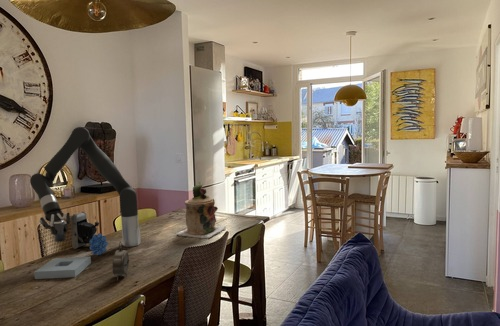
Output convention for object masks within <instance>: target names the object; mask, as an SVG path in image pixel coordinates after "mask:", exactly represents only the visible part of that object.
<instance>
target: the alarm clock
mask: <svg viewBox="0 0 500 326" xmlns="http://www.w3.org/2000/svg"><path fill="white" fill-rule="evenodd" d="M118 245H119V246H118V247H119V249H118V250H117V249H116V251H115V252H114V254H113V260H112V273H113V275H114V276H115V277H116V282H118V281H119V277H123V276H126V277H128V275H127V272H128V269H129V262H130V259H129V258H130V257H129V252H128V251H127V250H124V249H123V250H122V246H123V244H122V241H119V242H118Z"/></svg>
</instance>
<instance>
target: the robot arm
mask: <svg viewBox="0 0 500 326" xmlns="http://www.w3.org/2000/svg"><path fill="white" fill-rule="evenodd" d="M78 148H80V149H81V150H82V151H83V153H85V155H86V156H87V157H88V159H89V161H90V163H92V166H93V167H94V168H95V170H97V172H98V173H99V174H100V176H101V177H102V178H103V179H105V180H106V181H107V182H108V183H109V184H110V185H112V187H113V188H114V189H115V190H116V192H117V193H118V195H119V209H120V216H121V217H120V220H121V235H122V246H123V247H127V248H128V247H136V246H139V245H140V244H141V243H142V242H141V241H142V240H141V227H140V226H139V213H138V212H139V211H138V198H137V197H138V195H137V191H136V190H135V188H133V186H132V185H130V184H129V183H128V181H127V180H126V179H125V178H124V177H123V175H122V173H121V172H120V170H119V169H118V167H117V166H116V164H115V163H114V162H113V161H112V159H111V158H110V157H109V156H108V155H107V154H106V153H105V152H104V151H103V150H102V149H101V148H100V147H98V145H97V144H96V142H95V141H94V139H93V138H92V136H91V135H90V131H89V130H88V129H87V128H86V127H83V126H77V127H75V128H74V129H73V130H72V131H71V134H70V136H69V137H68V139H67V141H65V143H64V144H63V146H62V147H61V148H60V149H59V150H58V151H57V152H56V153H55V154H54V156H53V157H52V158H51V159H50V160H49V161H48V162H47V163H46V164H45V166H44V171H45V172H46V173H45V175H44V174H42V173H39V172H38V173H37V172H36V173H34V174H32V175H31V176H30V179H29V183H30V185H31V187H32V190H34V192H35V193H36V194H37V196H38V200H39V202H40V207H41V209H42V211H43V214H44V217H43V216H42V217H40V219H39V223H40V224H41V225H42V227H43V228H44V229H45V230H48V229H49V230H50V233H51V235H53V236H54V235H56V231H55V228H54V227H53V221H54V220H59V219H64V227H65V234H66V233H68V231H69V225H70V223H71V216H70V212H67V213H64V212H62V209H61V206H60V204H59V201H58V199H57V197H56V196H55V193H54V191H53V189H52V188H51V186H52V185H53V183H54V182H55V179H56V177H57V175H58V173H60V171H61V170H62V168H63V167H64V166H65V165H66V164H67V162H68V161H70V158H71V157H72V155H73V154H74V153H75V152H76V151H77V150H78ZM48 222H49V223H48Z"/></svg>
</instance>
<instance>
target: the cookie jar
mask: <svg viewBox="0 0 500 326" xmlns="http://www.w3.org/2000/svg"><path fill="white" fill-rule="evenodd" d="M192 195H193V197H192V198H190V199H187V200H185V201H184V204H185V210H186V211H185V226H186V228H185V229H184V230H181V231H178V232H176V233H175V234H176V236H179V237H188V238H198V239H199V238H201V239H209V238H211V237H213V236H215V235H217V234H219V233H220V232H222V231H224V230H226V228H227V225H216V222H217V219H216V212H217V211H218V209H219V208H218V207H217V206H215V199H214V198H211V197H210V196H209V195H207V189H206V188H204V187H203V183H202V182H201V181H200V182H199V183H197V185H194V186H193V187H192Z"/></svg>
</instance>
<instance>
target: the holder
mask: <svg viewBox="0 0 500 326" xmlns="http://www.w3.org/2000/svg"><path fill="white" fill-rule="evenodd" d="M91 263H92V259H91V256H73V257H72V256H71V257H54V258H52V259H50V260H49V261H48V262H46V263H45V264H44V265H42V266H40V267H39V268H38V269H36V270H35V271H34V272H33V274H34V279H35V280H42V279H63V278H64V279H65V278H76V277H77V276H78V275H79V274H80V273H81V272H83V271H84V270H85V269H86V268H87V267H89V266H90V265H91Z"/></svg>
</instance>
